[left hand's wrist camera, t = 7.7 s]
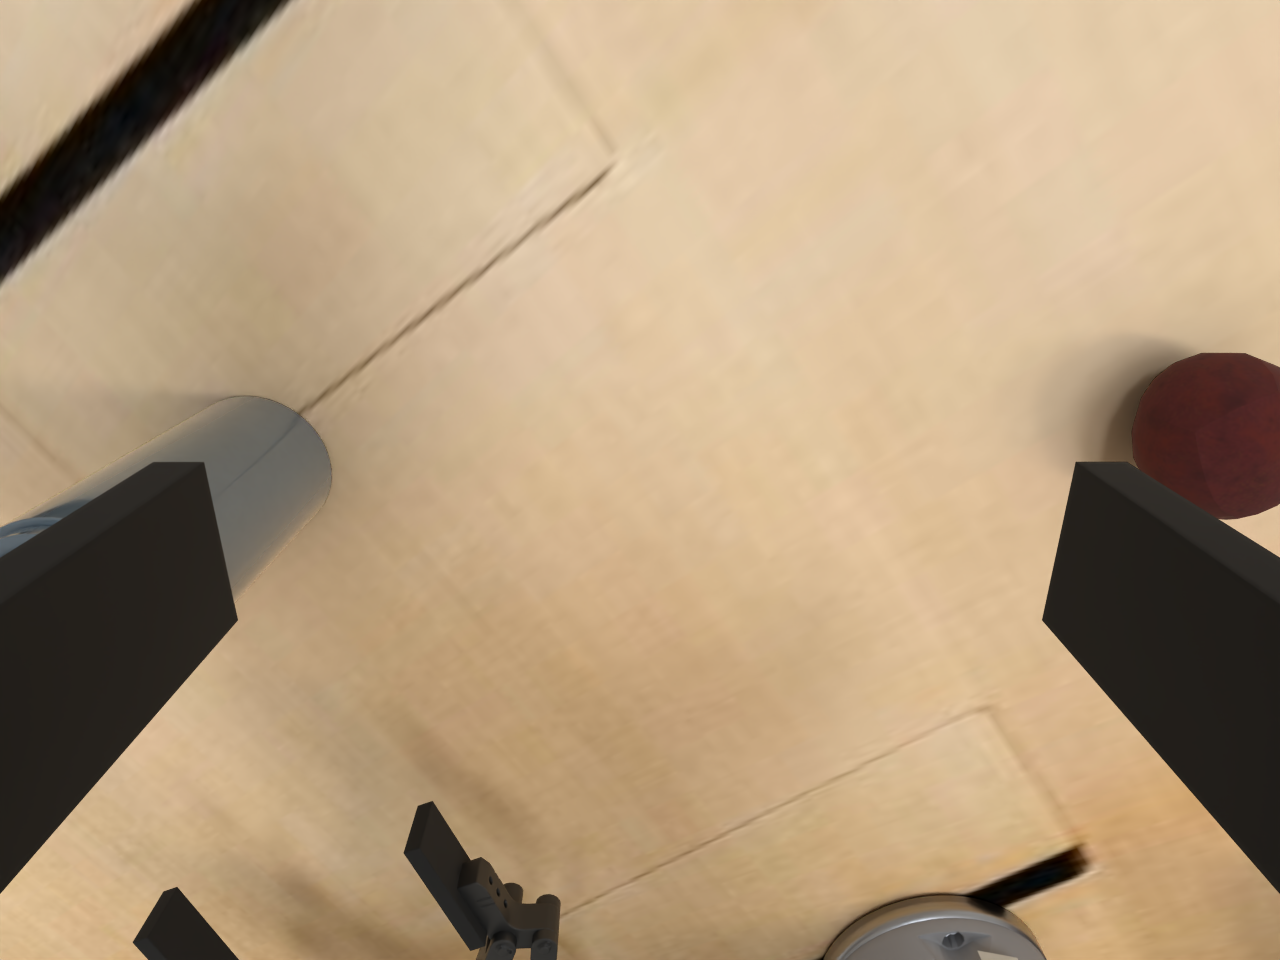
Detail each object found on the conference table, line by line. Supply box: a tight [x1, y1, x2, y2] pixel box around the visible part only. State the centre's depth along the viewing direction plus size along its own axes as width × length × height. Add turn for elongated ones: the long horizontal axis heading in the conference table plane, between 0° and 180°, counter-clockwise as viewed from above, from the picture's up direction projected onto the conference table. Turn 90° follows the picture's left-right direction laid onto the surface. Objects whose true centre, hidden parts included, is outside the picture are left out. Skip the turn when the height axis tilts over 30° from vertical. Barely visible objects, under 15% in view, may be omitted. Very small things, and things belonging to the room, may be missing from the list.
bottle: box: [0, 396, 332, 604], centre depth 32 cm, size 8×8×20 cm
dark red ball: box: [1132, 353, 1280, 520], centre depth 37 cm, size 7×8×7 cm
